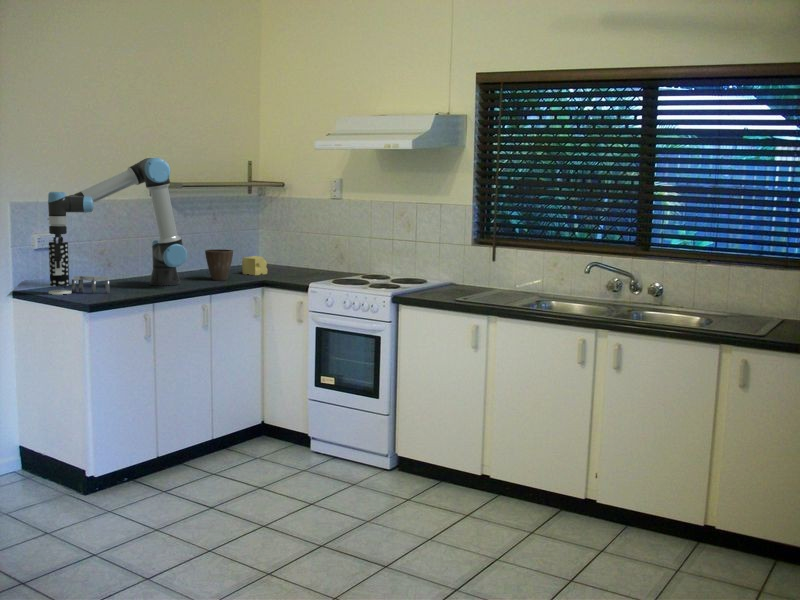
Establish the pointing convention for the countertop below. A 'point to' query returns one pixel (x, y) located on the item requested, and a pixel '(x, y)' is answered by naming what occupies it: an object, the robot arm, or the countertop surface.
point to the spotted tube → (64, 278)
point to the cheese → (254, 265)
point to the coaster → (60, 292)
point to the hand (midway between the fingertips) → (59, 273)
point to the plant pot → (219, 263)
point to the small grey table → (93, 279)
